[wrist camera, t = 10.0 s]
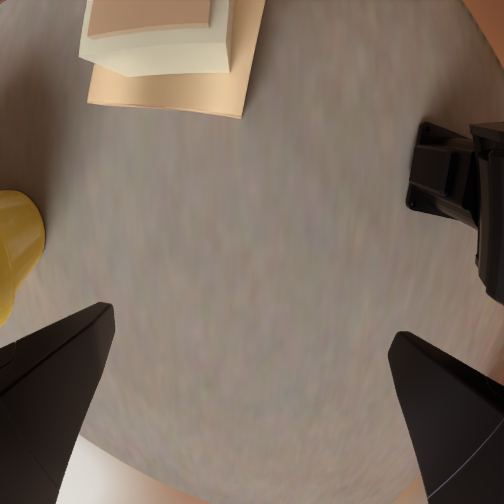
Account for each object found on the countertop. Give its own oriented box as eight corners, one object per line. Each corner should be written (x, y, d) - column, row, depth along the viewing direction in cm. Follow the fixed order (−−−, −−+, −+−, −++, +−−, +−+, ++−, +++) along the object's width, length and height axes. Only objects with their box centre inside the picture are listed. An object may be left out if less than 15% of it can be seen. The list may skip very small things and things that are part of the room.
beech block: (265, -1, 15) (270, -23, 12) (241, 119, 19) (241, 115, 15) (137, -9, 15) (121, -29, 11) (109, 106, 18) (87, 102, 14)
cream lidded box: (235, -13, 12) (236, -77, 6) (229, 73, 14) (225, 38, 8) (138, -7, 12) (96, -59, 6) (128, 77, 14) (71, 54, 8)
